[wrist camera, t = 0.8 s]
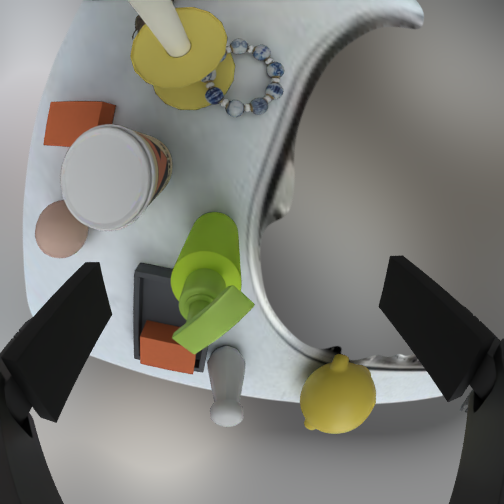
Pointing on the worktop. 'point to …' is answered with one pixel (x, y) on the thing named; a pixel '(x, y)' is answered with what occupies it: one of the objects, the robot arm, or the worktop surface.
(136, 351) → the pad frame
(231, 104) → the bracelet
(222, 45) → the yellow disc white stick
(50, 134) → the loose pad
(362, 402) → the sculpture
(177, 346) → the seated pad
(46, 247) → the egg
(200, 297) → the soap dispenser
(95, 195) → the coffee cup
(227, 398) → the salt shaker
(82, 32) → the worktop surface
